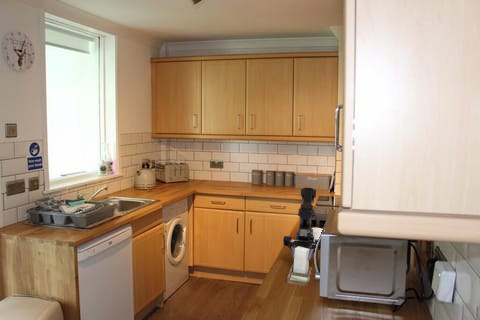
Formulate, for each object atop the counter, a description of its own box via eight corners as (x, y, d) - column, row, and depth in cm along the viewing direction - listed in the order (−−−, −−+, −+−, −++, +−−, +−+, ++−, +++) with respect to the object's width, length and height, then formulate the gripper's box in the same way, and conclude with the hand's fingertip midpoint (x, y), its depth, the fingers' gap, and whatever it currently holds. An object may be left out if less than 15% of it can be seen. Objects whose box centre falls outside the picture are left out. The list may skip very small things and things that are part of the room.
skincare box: (308, 273, 201) (310, 248, 199) (304, 276, 197) (306, 251, 196) (296, 269, 204) (298, 245, 202) (292, 272, 201) (294, 248, 199)
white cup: (323, 250, 232) (324, 232, 231) (308, 248, 234) (309, 231, 232) (323, 245, 240) (324, 228, 239) (308, 243, 241) (310, 226, 240)
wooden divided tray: (291, 267, 206) (292, 264, 206) (311, 270, 204) (311, 267, 204) (286, 283, 189) (286, 279, 189) (308, 286, 187) (308, 283, 186)
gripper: (284, 219, 203) (280, 249, 194) (324, 223, 199) (322, 254, 190) (285, 230, 212) (281, 259, 203) (323, 234, 208) (321, 264, 199)
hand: (301, 259), depth 198 cm, fingers closed on skincare box, 7 cm apart
